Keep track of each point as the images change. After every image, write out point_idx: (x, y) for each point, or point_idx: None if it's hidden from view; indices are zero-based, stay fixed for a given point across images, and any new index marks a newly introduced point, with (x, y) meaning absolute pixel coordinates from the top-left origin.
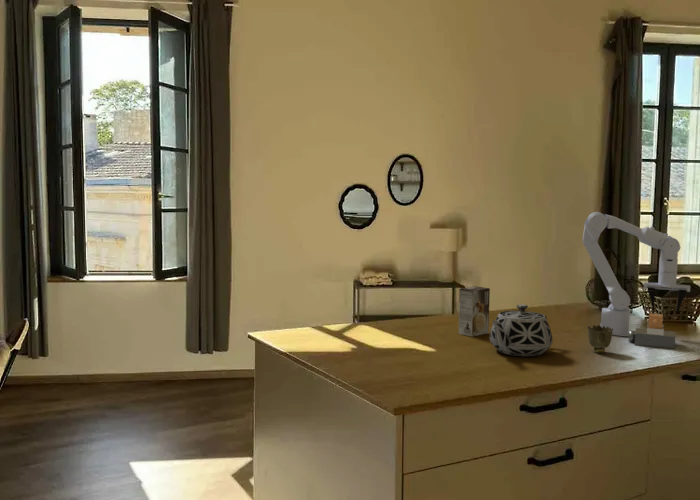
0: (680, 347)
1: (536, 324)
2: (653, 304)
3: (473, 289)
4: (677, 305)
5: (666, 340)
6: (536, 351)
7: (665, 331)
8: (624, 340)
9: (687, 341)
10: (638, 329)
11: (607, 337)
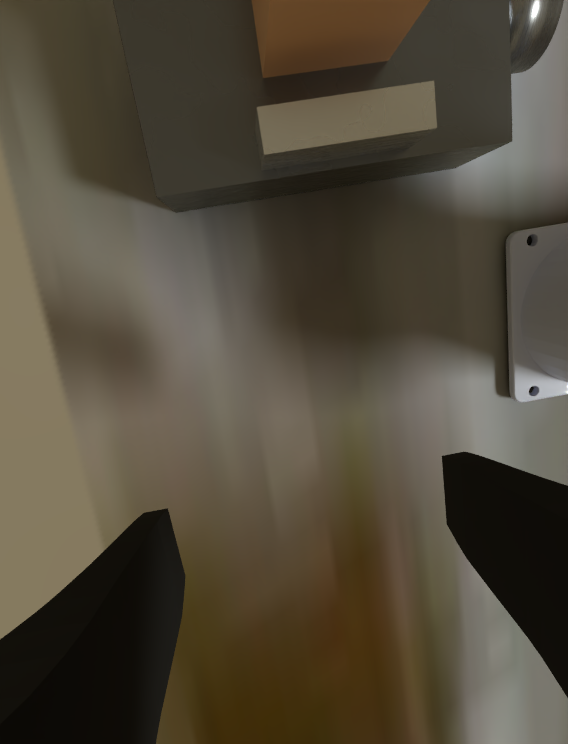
0: (96, 77)
1: None
2: (502, 476)
3: None
4: (132, 552)
5: None
6: None
7: (235, 147)
8: (527, 78)
9: (106, 362)
10: (485, 76)
11: None
